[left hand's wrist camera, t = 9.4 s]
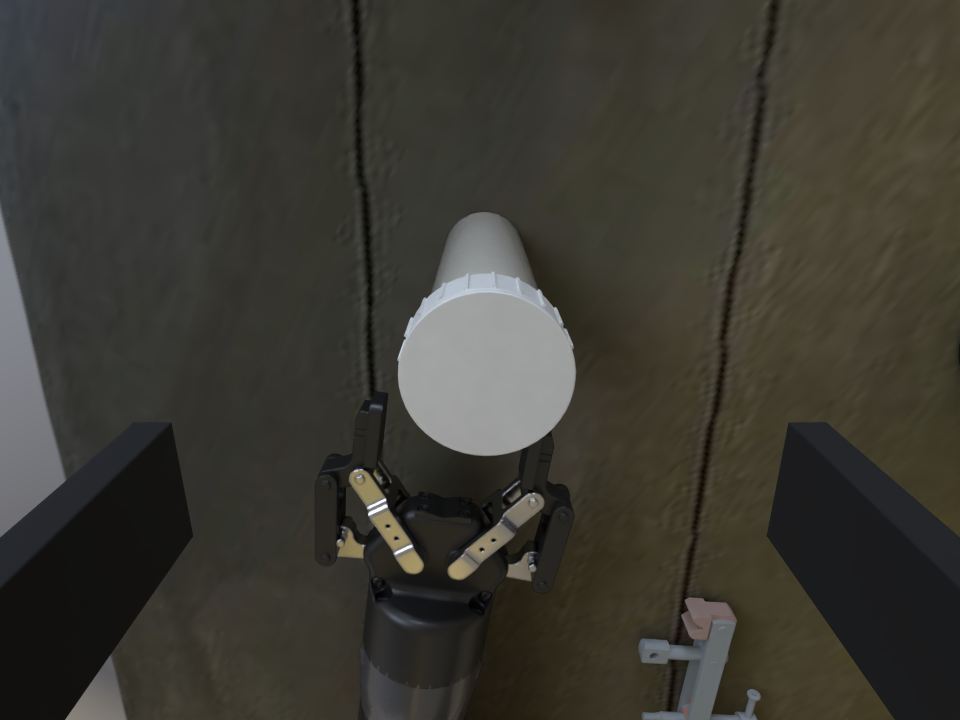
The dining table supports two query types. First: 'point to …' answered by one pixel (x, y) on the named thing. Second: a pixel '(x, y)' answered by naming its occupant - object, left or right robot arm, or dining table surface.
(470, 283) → the lid
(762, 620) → the dining table surface
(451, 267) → the jar
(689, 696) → the clamp
